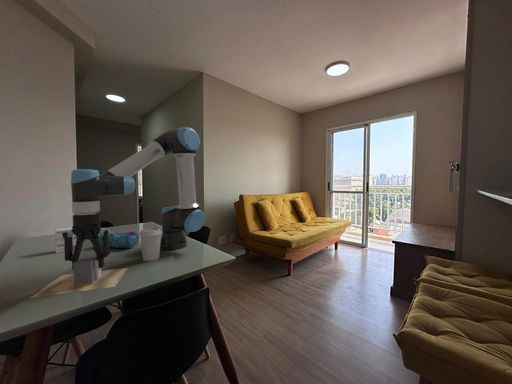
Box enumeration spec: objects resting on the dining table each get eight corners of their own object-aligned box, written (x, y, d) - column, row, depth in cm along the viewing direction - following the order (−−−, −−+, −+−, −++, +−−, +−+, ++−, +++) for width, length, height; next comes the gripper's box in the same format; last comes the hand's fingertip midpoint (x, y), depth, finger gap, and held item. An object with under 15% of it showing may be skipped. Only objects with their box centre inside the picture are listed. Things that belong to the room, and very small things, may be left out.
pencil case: (95, 248, 114) (95, 231, 113) (110, 243, 122) (109, 227, 122) (127, 250, 110) (127, 233, 109) (140, 245, 118) (139, 229, 118)
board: (128, 271, 84) (128, 267, 84) (114, 291, 68) (114, 286, 68) (61, 279, 77) (61, 275, 77) (30, 302, 62) (30, 297, 62)
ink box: (77, 247, 114) (76, 226, 114) (77, 249, 111) (76, 228, 110) (56, 251, 109) (55, 229, 108) (55, 253, 105) (54, 230, 104)
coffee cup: (163, 263, 93) (163, 230, 92) (139, 267, 88) (138, 232, 87) (161, 256, 101) (161, 226, 100) (139, 259, 96) (138, 228, 96)
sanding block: (86, 276, 76) (85, 255, 76) (101, 274, 77) (101, 253, 77) (74, 286, 68) (73, 263, 68) (91, 284, 70) (91, 261, 69)
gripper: (119, 210, 78) (121, 270, 79) (61, 212, 73) (64, 276, 74) (112, 213, 71) (114, 278, 72) (47, 216, 66) (50, 286, 67)
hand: (89, 277), depth 73 cm, fingers closed on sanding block, 5 cm apart
